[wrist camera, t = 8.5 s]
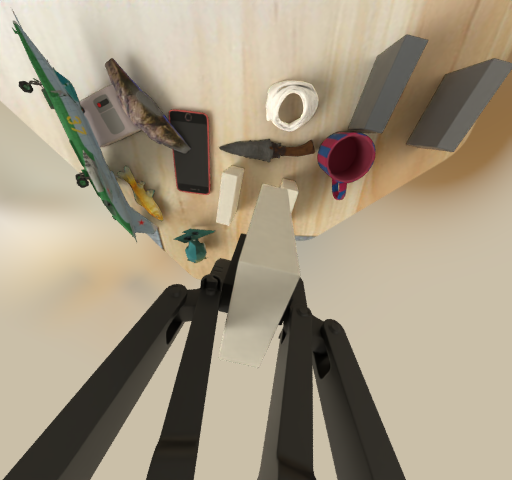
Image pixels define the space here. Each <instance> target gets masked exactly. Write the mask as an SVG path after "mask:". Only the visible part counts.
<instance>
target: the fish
mask: <svg viewBox="0 0 512 480" xmlns="http://www.w3.org/2000/svg"><path fill="white" fill-rule="evenodd" d="M124 171H125V173H123V172H120V171H119V172H118V173H117V174H118V175H119V176H120V177H121V178H122V179H124V180H125V181H126V182H128V183H129V184H130V186H131V187H132V190H133V193H134V196H135V200H136V202H137V203H138V204H139V205H141V206H143V207H144V208H145V209H146V210H147V211H148V213H149V214H151V215H152V216H154V217H155V218H157V219H159V220H160V221H163V217H162V213H161V211H160V208H159V207H158V205H157V204H156V203H155V201H154V200H153V199H152V198H153V194H154V192H155V191H154V190H148V191H147V193H146V192H145V190H144V188H143V185H144V184H145V182H143V181H141V182H139V183H136V181H135V179H134V177H133V175H132V173H131V171H130V169H129V167H127V166H125V167H124Z"/></svg>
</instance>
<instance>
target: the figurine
mask: <svg viewBox="0 0 512 480" xmlns="http://www.w3.org/2000/svg"><path fill="white" fill-rule="evenodd" d="M213 232H215V231H212V230H208V231H207V230H198V229H197V230H196V229H189V230H186V231H184V233H186V234H184V235H182V236H179V237H177V238H175V239H174V240H178V241H181V242H183V243H187V242H189V246H188V247H187V248H186V250H185V252H186V254H187V258H188V260H187V261H192V262H194V263H198V262H200V261H202V260H203V259H206V257H205V256H206V253H207V252H206V247H205V244H204V243H200V242H199V241H198V238H200V237H203V236H205V235H208V234H211V233H213ZM182 233H183V232H182Z"/></svg>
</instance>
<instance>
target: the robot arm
mask: <svg viewBox="0 0 512 480" xmlns="http://www.w3.org/2000/svg"><path fill="white" fill-rule="evenodd" d="M246 236H247V235H246V234H242V233H241V235H240V238H239V241H238V243H237V246H236V249H235V252H234V254H233V257H232V260H231V261H230V260H226V259H221V258H220V259H219V260H217V261H216V262H215V265H214V267H213V269H212V271H211V273H210V274H209V275H205V276H204V277H203V278H202V280H201V288H199V289H193V290H187V289H186V287H185V286H183V285H180V284H174V285H171V286H169V287H168V288H166V289H165V290H164V292H163V293H162V294H161V295H160V296H159V297H158V299H157V300H156V301H155V302H154V303H153V304H152V306H151V307H150V308H149V309H148V310H147V311H146V313H145V314H144V315H143V316H142V317H141V319H140V320H139V321H138V322H137V323H136V324H135V326H134V327H133V328H132V329H131V330H130V331H129V333H128V334H127V335H126V336H125V337H124V339H123V340H122V341H121V342H120V343H119V344H118V346H117V347H116V348H115V349H114V350H113V351H112V353H111V354H110V355H109V356H108V357H107V358H106V359H105V361H104V362H103V363H102V364H101V365H100V367H99V368H98V369H97V370H96V371H95V372H94V374H93V375H92V376H91V377H90V378H89V379H88V381H87V382H86V383H85V384H84V385H83V386H82V388H81V389H80V390H79V391H78V392H77V393H76V395H75V396H74V397H73V398H72V399H71V401H70V402H69V403H68V404H67V405H66V406H65V408H64V409H63V410H62V411H61V412H60V413H59V415H58V416H57V417H56V418H55V419H54V420H53V422H52V423H51V424H50V425H49V426H48V427H47V429H46V430H45V431H44V432H43V433H42V435H41V436H40V437H39V438H38V439H37V440H36V441H35V443H34V444H33V445H32V446H31V447H30V448H29V450H28V451H27V452H26V453H25V454H24V455H23V457H22V458H21V459H20V460H19V461H18V462H17V464H16V465H15V466H14V467H13V468H12V469H11V471H10V472H9V473H8V475H6V477H5V478H4V479H3V480H90V479H91V477H92V476H93V474H94V472H95V471H96V469H97V467H98V466H99V464H100V462H101V461H102V459H103V457H104V456H105V454H106V452H107V451H108V449H109V447H110V446H111V444H112V442H113V441H114V439H115V437H116V436H117V434H118V432H119V430H120V429H121V427H122V426H123V424H124V422H125V421H126V419H127V417H128V416H129V414H130V412H131V411H132V409H133V407H134V406H135V404H136V402H137V401H138V399H139V397H140V396H141V394H142V392H143V391H144V389H145V387H146V386H147V384H148V382H149V381H150V379H151V378H152V376H153V374H154V372H155V371H156V369H157V368H158V366H159V364H160V362H161V361H162V359H163V358H164V356H165V354H166V352H167V351H168V349H169V347H170V346H171V344H172V343H173V341H174V339H175V338H176V336H177V334H178V333H179V331H180V329H181V328H182V326H183V324H184V322H186V321H192V322H191V326H190V330H189V333H188V337H187V341H186V344H185V348H184V351H183V355H182V359H181V362H180V366H179V370H178V373H177V377H176V381H175V384H174V388H173V392H172V396H171V399H170V403H169V407H168V410H167V414H166V417H165V421H164V425H163V429H162V432H161V436H160V439H159V442H158V444H157V446H156V448H155V451H154V454H153V457H152V460H151V464H150V467H149V471H148V474H147V478H146V480H194V473H195V466H196V459H197V453H198V445H199V438H200V431H201V424H202V417H203V411H204V403H205V397H206V390H207V383H208V376H209V370H210V363H211V356H212V349H213V342H214V335H215V329H216V322H217V315H218V310H219V311H221V312H226V313H228V310H229V305H230V300H231V295H232V291H233V286H234V281H235V276H236V271H237V267H238V262H239V258H240V255H241V252H242V249H243V245H244V242H245V239H246ZM304 291H305V290H304V285H303V281H302V279H301V278H299V280H298V282H297V284H296V287H295V289H294V291H293V293H292V296H291V298H290V300H289V302H288V304H287V307H286V309H285V311H284V313H283V316H282V318H281V320H280V322H279V324H278V325H282V323H283V324H284V326H283V329H282V331H281V333H280V335H279V339H280V344H279V351H278V357H277V363H276V370H275V376H274V383H273V389H272V396H271V402H270V408H269V415H268V421H267V428H266V434H265V441H264V447H263V454H262V461H261V467H260V472H259V476H258V479H257V480H316V478H315V476H314V471H313V396H312V395H313V393H312V392H313V388H312V387H313V384H312V365H313V369H314V374H315V379H316V383H317V388H318V392H319V397H320V401H321V406H322V411H323V415H324V420H325V424H326V429H327V433H328V438H329V442H330V447H331V452H332V456H333V461H334V465H335V469H336V474H337V479H338V480H406V479H405V477H404V474H403V472H402V469H401V467H400V464H399V462H398V460H397V457H396V455H395V452H394V450H393V447H392V445H391V443H390V441H389V438H388V435H387V433H386V430H385V428H384V426H383V423H382V421H381V418H380V416H379V414H378V411H377V409H376V406H375V404H374V401H373V400H372V397H371V394H370V392H369V389H368V387H367V385H366V382H365V379H364V377H363V375H362V372H361V370H360V367H359V365H358V362H357V360H356V358H355V355H354V353H353V350H352V348H351V345H350V343H349V341H348V338H347V336H346V333H345V331H344V329H343V328H342V326H341V325H340V324H339V323H338V322H337V321H335V320H332V319H327V320H325V321H322V320H320V319H318V318H316V317H315V316H313V315H312V313H311V311H310V309H309V308H307V303H306V296H305V292H304Z"/></svg>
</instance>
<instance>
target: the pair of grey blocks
mask: <svg viewBox="0 0 512 480" xmlns="http://www.w3.org/2000/svg"><path fill="white" fill-rule="evenodd" d="M427 42H428V40H426V39H422V38H418V37H415V36H411V35H405V36H404V37H402V38H401V39H400V40H398V41H397V42H396V43H394V44H393V45H392V46H390V47H389V48H388V49H386V50H385V51H384V52H382V53H381V54H380V55H378V56H377V59H376V61H375V63H374V66H373V68H372V71H371V73H370V76H369V78H368V81H367V83H366V85H365V88H364V90H363V93H362V95H361V98H360V100H359V103H358V105H357V107H356V110H355V112H354V115H353V117H352V120H351V122H350V125H349V127H348V129H349V130H353V131H357V132H361V133H383V130H384V128H385V126H386V124H387V122H388V120H389V118H390V116H391V114H392V112H393V110H394V108H395V106H396V104H397V102H398V100H399V98H400V96H401V94H402V92H403V90H404V88H405V86H406V84H407V82H408V80H409V78H410V76H411V74H412V72H413V70H414V68H415V66H416V64H417V62H418V60H419V58H420V56H421V54H422V52H423V50H424V48H425V46H426V44H427ZM511 69H512V63H510V62H506V61H502V60H499V59H495V58H494V59H491V60H488V61H485V62H482V63H479V64H476V65H473V66H470V67H467V68H464V69H461V70H458V71H455V72H452V73H449V74H446V75H445V77H444V78H443V80H442V82H441V84H440V85H439V87H438V89H437V91H436V92H435V94H434V96H433V98H432V99H431V101H430V103H429V105H428V106H427V108H426V110H425V112H424V113H423V115H422V117H421V119H420V120H419V122H418V124H417V126H416V127H415V129H414V131H413V133H412V134H411V136H410V138H409V140H408V141H407V143H406V144H407V145H411V146H415V147H419V148H425V149H433V150H441V151H449V152H454V151H455V149H456V148H457V147H458V145H459V144H460V142H461V141H462V139H463V138H464V137H465V135H466V134H467V132H468V131H469V129H470V128H471V127H472V125H473V124H474V122H475V121H476V119H477V118H478V117H479V115H480V114H481V112H482V111H483V110H484V108H485V107H486V105H487V104H488V102H489V101H490V100H491V98H492V97H493V95H494V94H495V92H496V91H497V89H498V88H499V87H500V85H501V84H502V82H503V81H504V80H505V78H506V77H507V75H508V74H509V73H510V71H511Z"/></svg>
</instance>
